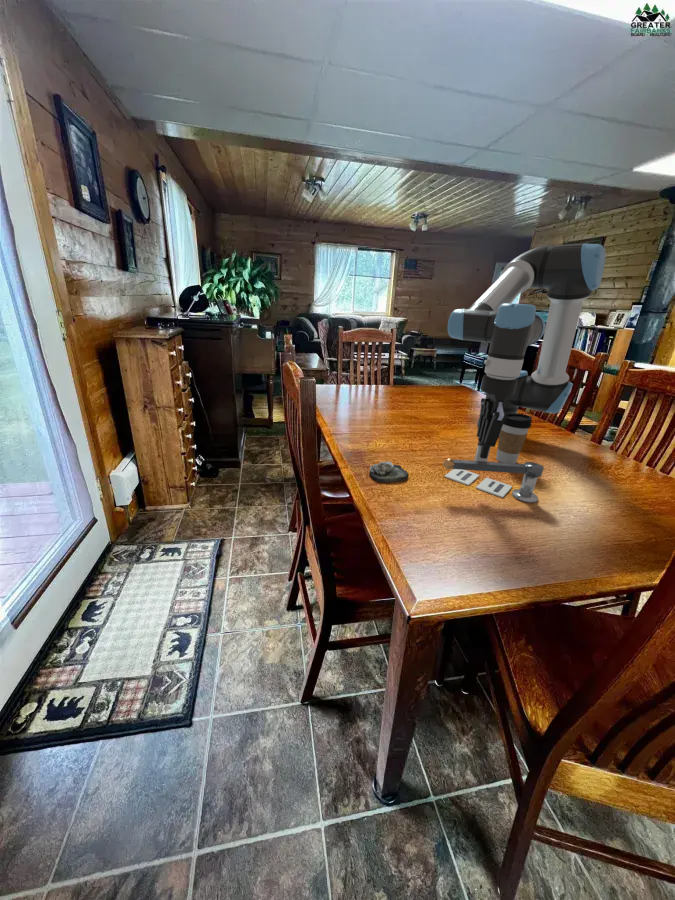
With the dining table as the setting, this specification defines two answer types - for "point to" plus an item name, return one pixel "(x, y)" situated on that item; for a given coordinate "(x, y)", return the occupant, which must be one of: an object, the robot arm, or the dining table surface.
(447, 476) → the label
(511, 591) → the dining table surface
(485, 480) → the label
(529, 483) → the post
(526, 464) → the swing arm
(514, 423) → the coffee cup
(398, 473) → the dark grey lumpy mound
